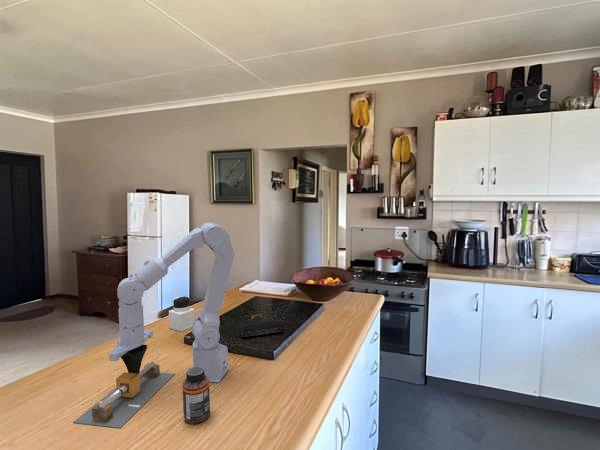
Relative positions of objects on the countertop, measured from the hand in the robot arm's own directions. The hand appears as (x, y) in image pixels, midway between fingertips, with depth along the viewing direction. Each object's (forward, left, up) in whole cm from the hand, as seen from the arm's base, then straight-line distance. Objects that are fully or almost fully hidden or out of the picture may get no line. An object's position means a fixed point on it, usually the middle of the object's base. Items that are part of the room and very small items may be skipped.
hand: (134, 374), depth 88 cm
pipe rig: (0, +2, -5) cm, 5 cm away
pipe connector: (-21, -44, -5) cm, 49 cm away
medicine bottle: (+10, -43, -5) cm, 44 cm away
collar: (0, +2, -5) cm, 5 cm away
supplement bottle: (-21, +7, -5) cm, 23 cm away
